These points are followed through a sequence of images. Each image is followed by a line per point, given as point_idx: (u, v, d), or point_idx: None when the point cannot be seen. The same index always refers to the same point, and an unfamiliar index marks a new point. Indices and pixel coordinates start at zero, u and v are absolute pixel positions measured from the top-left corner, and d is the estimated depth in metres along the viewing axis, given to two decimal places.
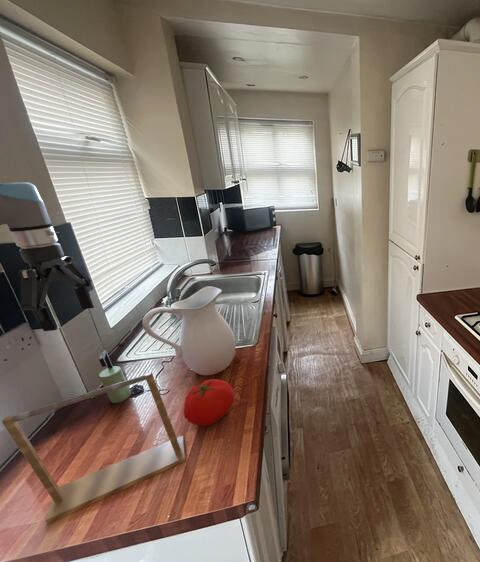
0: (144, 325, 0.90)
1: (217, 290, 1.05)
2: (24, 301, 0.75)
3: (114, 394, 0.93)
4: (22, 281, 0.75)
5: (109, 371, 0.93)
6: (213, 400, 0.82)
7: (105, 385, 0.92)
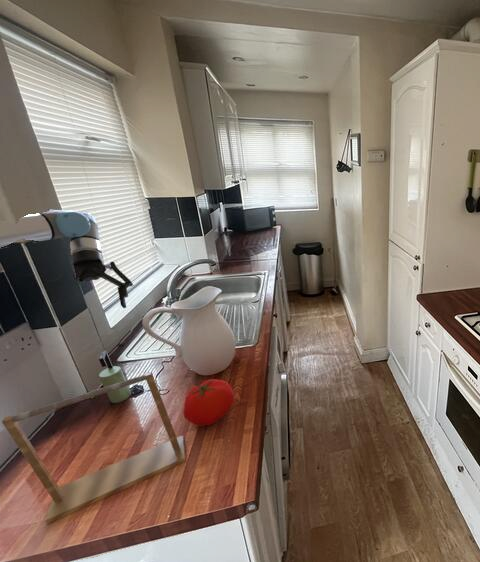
0: (144, 325, 0.90)
1: (217, 290, 1.05)
2: None
3: (114, 394, 0.93)
4: (117, 268, 1.02)
5: (109, 371, 0.93)
6: (213, 400, 0.82)
7: (105, 385, 0.92)
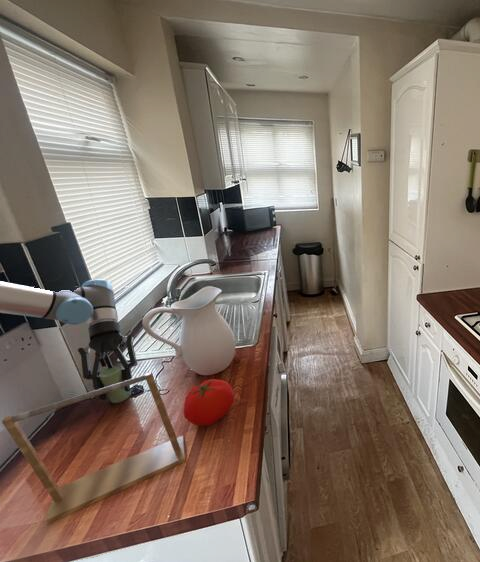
0: (144, 325, 0.90)
1: (217, 290, 1.05)
2: (134, 358, 0.98)
3: (114, 394, 0.93)
4: (131, 343, 0.99)
5: (109, 371, 0.93)
6: (213, 400, 0.82)
7: (105, 385, 0.92)
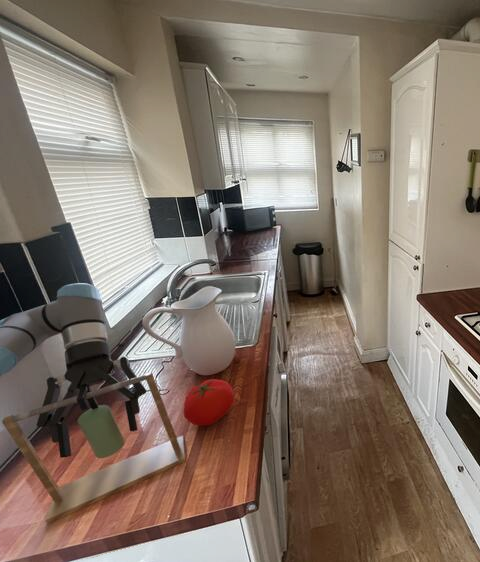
0: (144, 325, 0.90)
1: (217, 290, 1.05)
2: (141, 384, 0.71)
3: (100, 446, 0.65)
4: (128, 366, 0.72)
5: (92, 414, 0.65)
6: (213, 400, 0.82)
7: (87, 435, 0.64)
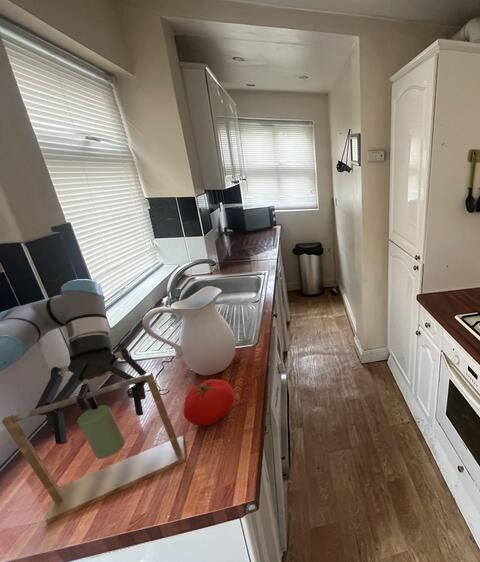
0: (144, 325, 0.90)
1: (217, 290, 1.05)
2: (145, 371, 0.75)
3: (100, 446, 0.65)
4: (130, 357, 0.74)
5: (92, 414, 0.65)
6: (213, 400, 0.82)
7: (87, 435, 0.64)
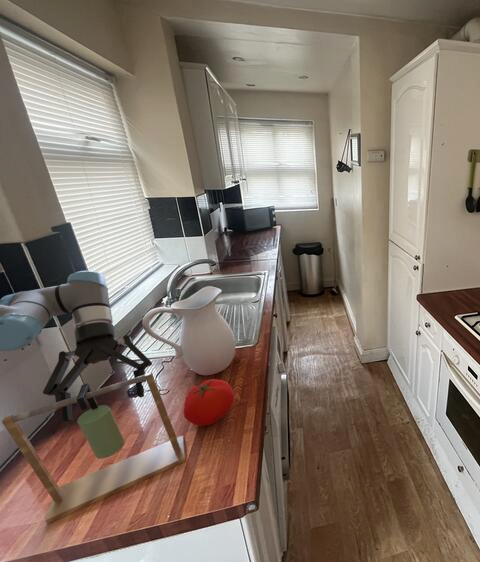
0: (144, 325, 0.90)
1: (217, 290, 1.05)
2: None
3: (100, 446, 0.65)
4: (132, 343, 0.80)
5: (92, 414, 0.65)
6: (213, 400, 0.82)
7: (87, 435, 0.64)
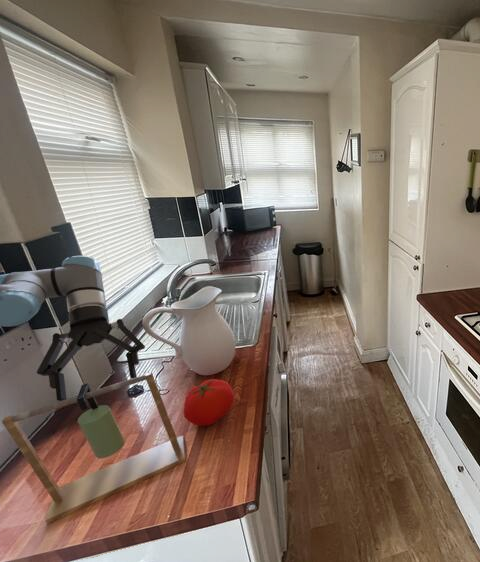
0: (144, 325, 0.90)
1: (217, 290, 1.05)
2: None
3: (100, 446, 0.65)
4: (125, 326, 0.81)
5: (92, 414, 0.65)
6: (213, 400, 0.82)
7: (87, 435, 0.64)
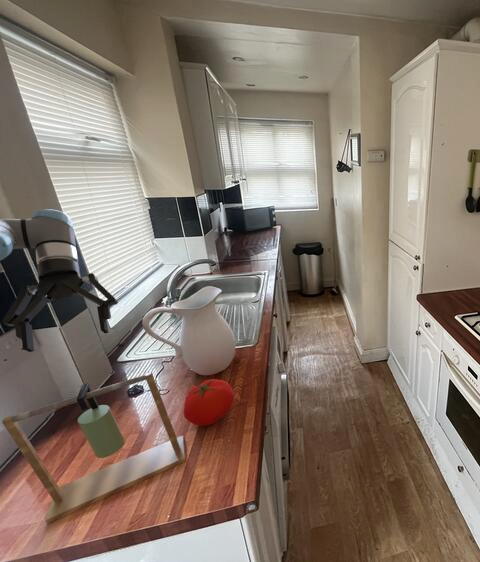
0: (144, 325, 0.90)
1: (217, 290, 1.05)
2: (111, 295, 0.80)
3: (100, 446, 0.65)
4: (97, 281, 0.80)
5: (92, 414, 0.65)
6: (213, 400, 0.82)
7: (87, 435, 0.64)
